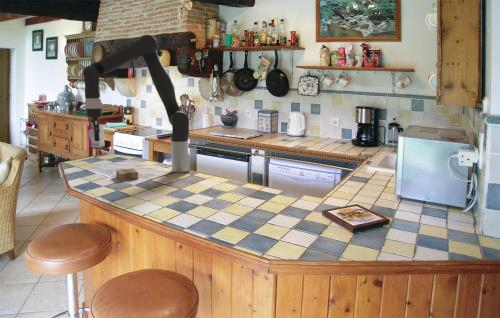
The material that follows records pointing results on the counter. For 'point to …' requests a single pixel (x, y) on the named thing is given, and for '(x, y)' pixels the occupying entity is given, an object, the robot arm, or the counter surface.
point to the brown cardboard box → (127, 174)
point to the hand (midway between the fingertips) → (96, 139)
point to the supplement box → (91, 137)
